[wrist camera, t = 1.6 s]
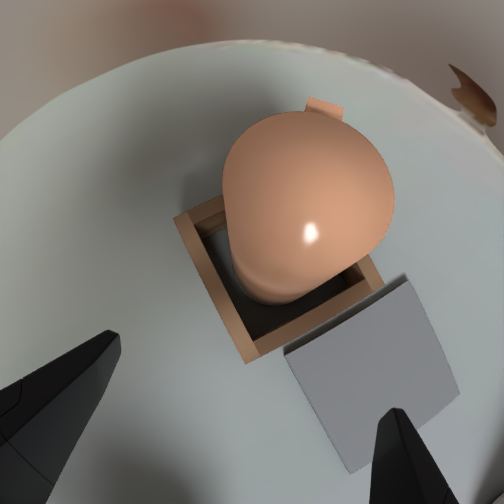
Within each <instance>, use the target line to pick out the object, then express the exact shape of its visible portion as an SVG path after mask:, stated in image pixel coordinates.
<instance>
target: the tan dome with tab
mask: <svg viewBox="0 0 504 504" xmlns="http://www.w3.org/2000/svg"><path fill="white" fill-rule="evenodd" d="M343 111H344V107H341V106H337V105H334V104H331V103H328V102H325V101H321V100H318V99H315V98H311V97H308V100H307V104H306V107H305V111H304V112H301V111H296V112H285V113H280V114H276V115H273V116H270V117H267V118H265V119H263V120H261V121H259V122H257V123H255V124H254V125H252V126H251V127H249V128H248V129H247V130H246V131H245V132H243V133H242V134H241V136H240V137H239V138H238V139H237V140H236V142H235V143H234V144H233V146H232V147H231V149H230V151H229V153H228V156H227V158H226V161H225V165H224V169H223V176H222V189H223V197H224V205H225V212H226V220H227V228H228V236H229V243H230V251H231V258H232V266H233V272H234V276H235V279H236V281H237V283H238V285H239V287H240V288H241V289H242V291H243V292H244V293H245V294H246V295H247V296H248V297H250V298H251V299H253V300H254V301H256V302H258V303H261V304H264V305H269V306H281V305H286V304H289V303H292V302H294V301H296V300H297V299H299V298H301V297H302V296H304V295H306V294H307V293H309V292H310V291H312V290H314V289H315V288H317V287H318V286H320V285H321V284H323V283H325V282H326V281H328V280H329V279H331V278H332V277H334V276H336V275H337V274H339V273H340V272H342V271H343V270H345V269H346V268H348V267H349V266H351V265H352V264H354V263H355V262H357V261H359V260H360V259H362V258H363V257H364V256H366V255H367V254H368V253H370V252H371V251H372V250H373V249H374V248H375V247H376V246H377V245H378V244H379V243H380V241H381V240H382V239H383V237H384V236H385V234H386V232H387V230H388V228H389V226H390V223H391V220H392V216H393V211H394V199H395V197H394V187H393V183H392V178H391V175H390V173H389V170H388V168H387V166H386V164H385V162H384V160H383V158H382V156H381V155H380V153H379V152H378V151H377V149H376V148H375V147H374V146H373V144H372V143H371V142H370V141H369V140H368V139H367V138H366V137H365V136H363V135H362V134H361V133H360V132H358V131H357V130H356V129H354V128H353V127H351V126H349V125H348V124H346V123H344V122H342V117H343Z"/></svg>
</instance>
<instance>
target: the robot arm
mask: <svg viewBox="0 0 504 504" xmlns="http://www.w3.org/2000/svg"><path fill="white" fill-rule="evenodd" d="M120 355H121V342H120V335H119V334H118V333H116V332H114V331H111V330H106V331H104V332H102V333H100V334H98V335H97V336H95V337H93V338H91V339H90V340H88V341H86V342H84V343H83V344H81V345H79V346H77V347H76V348H74V349H72V350H70V351H69V352H67V353H65V354H63V355H62V356H60V357H58V358H56V359H55V360H53V361H51V362H49V363H48V364H46V365H44V366H43V367H41V368H39V369H37V370H36V371H34V372H32V373H30V374H29V375H27V376H25V377H23V379H20V380H18V381H16V382H14V383H13V384H11V385H9V386H7V387H5V388H3V389H2V390H0V504H46V502H47V500H48V498H49V496H50V494H51V492H52V490H53V488H54V485H55V483H56V481H57V480H58V478H59V476H60V474H61V472H62V470H63V468H64V466H65V464H66V462H67V460H68V458H69V456H70V454H71V453H72V451H73V449H74V447H75V445H76V443H77V441H78V440H79V438H80V436H81V434H82V432H83V430H84V429H85V427H86V425H87V423H88V421H89V419H90V418H91V416H92V414H93V412H94V411H95V409H96V407H97V405H98V403H99V402H100V400H101V398H102V396H103V394H104V392H105V390H106V388H107V385H108V383H109V381H110V378H111V376H112V374H113V371H114V369H115V367H116V364H117V362H118V360H119V357H120ZM369 504H459V503H458V501H457V499H456V497H455V496H454V494H453V492H452V490H451V489H450V487H449V485H448V484H447V482H446V480H445V478H444V476H443V475H442V473H441V471H440V469H439V468H438V466H437V464H436V463H435V461H434V459H433V457H432V456H431V454H430V452H429V451H428V449H427V447H426V445H425V444H424V442H423V440H422V439H421V437H420V435H419V434H418V432H417V430H416V429H415V427H414V425H413V424H412V422H411V420H410V419H409V417H408V416H407V414H406V412H405V411H404V410H403V409H402V408H395V407H393V408H391V409H390V410H389V411H388V412H387V413H386V414H385V415H384V416H383V417H382V418H381V419H380V420H379V422H378V426H377V434H376V441H375V447H374V454H373V461H372V472H371V487H370V499H369Z"/></svg>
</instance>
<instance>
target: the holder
mask: <svg viewBox="0 0 504 504" xmlns="http://www.w3.org/2000/svg"><path fill="white" fill-rule="evenodd" d="M173 220H174V222H175V224H176V227H177V229H178V231H179V233H180V235H181V237H182V239H183V242H184V244H185V246H186V248H187V250H188V252H189V254H190V256H191V259H192V261H193V263H194V265H195V267H196V269H197V271H198V273H199V275H200V277H201V279H202V281H203V283H204V285H205V287H206V289H207V291H208V293H209V295H210V297H211V299H212V301H213V303H214V305H215V307H216V309H217V311H218V313H219V315H220V317H221V319H222V321H223V323H224V325H225V327H226V329H227V331H228V333H229V335H230V336H231V338H232V340H233V342H234V344H235V346H236V348H237V350H238V352H239V353H240V355H241V357H242V359H243V361H244V363H245V364H247V363H249V362H251V361H253V360H255V359H257V358H259V357H261V356H263V355H265V354H267V353H269V352H271V351H273V350H275V349H276V348H278V347H280V346H282V345H284V344H286V343H288V342H289V341H291V340H293V339H295V338H297V337H298V336H300V335H302V334H304V333H306V332H307V331H309V330H311V329H313V328H314V327H316V326H318V325H320V324H321V323H323V322H325V321H327V320H328V319H330V318H332V317H333V316H335V315H337V314H338V313H340V312H342V311H344V310H345V309H347V308H348V307H350V306H352V305H353V304H355V303H357V302H358V301H360V300H361V299H363V298H365V297H366V296H368V295H369V294H371V293H373V292H374V291H376V290H377V289H379V288H380V287H382V286H384V285H385V284H384V282H383V280H382V278H381V276H380V275H379V273H378V271H377V269H376V267H375V265H374V264H373V262H372V260H371V258H370V256H369V255H368V254H367V255H366V256H364V257H363V258H362V259H360V260H359V261H357V262H355V263H354V264H352V265H351V266H349V267H348V268H346V269H345V270H343V271H342V272H341V274H342V276H343V278H344V280H345V281H346V283H347V285H348V287H347V288H345V289H344V290H342V291H340V292H338V293H337V294H335V295H333V296H332V297H330V298H328V299H326V300H325V301H323V302H321V303H319V304H318V305H316V306H314V307H312V308H310V309H309V310H307V311H305V312H303V313H301V314H300V315H298V316H296V317H294V318H292V319H290V320H289V321H287V322H285V323H283V324H281V325H279V326H277V327H276V328H274V329H272V330H270V331H268V332H266V333H264V334H262V335H260V336H258V337H257V338H255V339H253V340H252V339H251V338H250V336H249V334H248V332H247V330H246V328H245V326H244V324H243V322H242V320H241V319H240V317H239V315H238V313H237V311H236V309H235V307H234V305H233V303H232V301H231V299H230V297H229V295H228V293H227V291H226V289H225V288H224V286H223V284H222V282H221V280H220V278H219V276H218V274H217V272H216V270H215V268H214V266H213V264H212V262H211V260H210V258H209V256H208V254H207V252H206V250H205V248H204V246H203V244H202V242H201V240H202V239H204V238H206V237H208V236H210V235H212V234H214V233H216V232H218V231H220V230H222V229H224V228H226V227H227V220H226V212H225V205H224V197H223V194H222V195H220V196H218V197H216V198H214V199H212V200H209V201H207V202H205V203H203V204H201V205H199V206H197V207H195V208H193V209H191V210H189V211H187V212H184V213H182V214H180V215H178V216H176V217H174V218H173Z"/></svg>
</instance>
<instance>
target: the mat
mask: <svg viewBox="0 0 504 504" xmlns="http://www.w3.org/2000/svg"><path fill="white" fill-rule="evenodd" d="M284 357H285V358H286V360H287V362H288V364H289V366H290V368H291V370H292V371H293V373H294V375H295V377H296V379H297V381H298V382H299V384H300V386H301V388H302V390H303V392H304V393H305V395H306V397H307V399H308V401H309V402H310V404H311V406H312V408H313V410H314V412H315V413H316V415H317V417H318V419H319V421H320V422H321V424H322V426H323V428H324V430H325V431H326V433H327V435H328V437H329V438H330V440H331V442H332V444H333V446H334V447H335V449H336V451H337V453H338V454H339V456H340V458H341V460H342V462H343V463H344V465H345V467H346V469H347V470H348V472H349V473H350V474H352V473H354V472H356V471H357V470H359V469H361V468H362V467H364V466H366V465H367V464H369V463H370V462H372V461H373V454H374V447H375V441H376V434H377V426H378V422H379V420H380V419H381V418H382V417H383V416H384V415H385V414H386V413H387V412H388V411H389V410H390V409H391V408H393V407H395V408H402V409H403V410H404V411H405V412H406V414H407V416H408V417H409V419H410V420H411V422H412V424H413V425H414V427H415V429H416V430H417V429H419V428H420V427H421V426H423V425H424V424H425V423H426V422H428V421H429V420H430V419H431V418H433V417H434V416H435V415H436V414H437V413H439V412H440V411H441V410H442V409H443V408H445V407H446V406H447V405H448V404H449V403H450V402H451V401H452V400H454V399H455V398H456V397H457V396H458V395H459V394H460V392H459V389H458V387H457V384H456V382H455V379H454V377H453V374H452V372H451V369H450V367H449V364H448V362H447V359H446V357H445V355H444V352H443V350H442V348H441V345H440V343H439V341H438V339H437V336H436V334H435V332H434V330H433V328H432V325H431V323H430V321H429V319H428V317H427V315H426V313H425V311H424V308H423V306H422V304H421V302H420V300H419V298H418V296H417V294H416V292H415V290H414V288H413V286H412V284H411V283H410V281H409V280H407V281H405V282H403V283H402V284H400V285H399V286H398V287H396V288H395V289H393V290H392V291H390V292H389V293H387V294H386V295H384V296H383V297H381V298H379V299H378V300H376V301H375V302H373V303H372V304H370V305H369V306H367V307H365V308H364V309H362V310H361V311H359V312H357V313H356V314H354V315H353V316H351V317H349V318H348V319H346V320H344V321H343V322H341V323H340V324H338V325H336V326H335V327H333V328H331V329H329V330H328V331H326V332H324V333H323V334H321V335H319V336H317V337H316V338H314V339H312V340H310V341H309V342H307V343H305V344H303V345H302V346H300V347H298V348H296V349H294V350H293V351H291V352H289V353H287V354H285V355H284Z"/></svg>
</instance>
